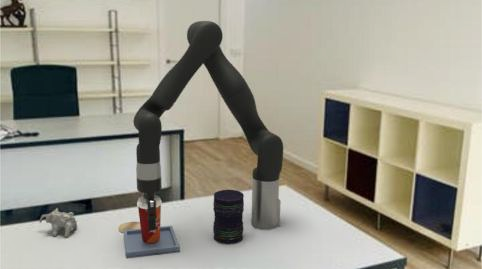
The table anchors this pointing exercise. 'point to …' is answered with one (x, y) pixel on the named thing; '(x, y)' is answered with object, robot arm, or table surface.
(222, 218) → the storage jar
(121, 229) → the cork coaster
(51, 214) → the elephant statuette
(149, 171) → the robot arm
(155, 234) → the paper cup
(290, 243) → the table surface
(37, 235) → the table surface
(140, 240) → the tray
